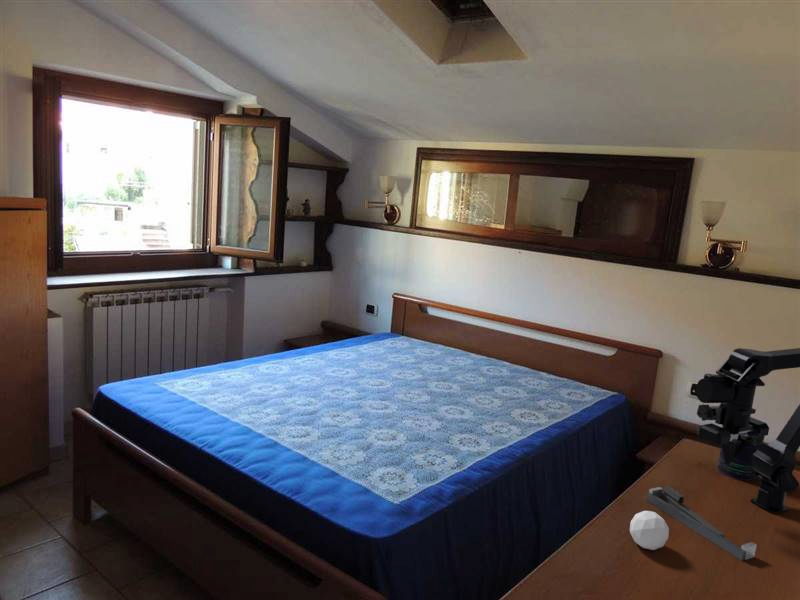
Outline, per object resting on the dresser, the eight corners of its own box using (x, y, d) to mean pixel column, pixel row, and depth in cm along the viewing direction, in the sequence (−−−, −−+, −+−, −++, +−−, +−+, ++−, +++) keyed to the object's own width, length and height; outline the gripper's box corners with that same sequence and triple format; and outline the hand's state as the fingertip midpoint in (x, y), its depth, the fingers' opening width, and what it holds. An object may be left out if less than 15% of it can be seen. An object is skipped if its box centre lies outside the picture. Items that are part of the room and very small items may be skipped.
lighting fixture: (725, 543, 140) (729, 525, 139) (715, 544, 139) (719, 526, 138) (668, 499, 158) (671, 484, 157) (659, 500, 157) (662, 484, 156)
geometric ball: (644, 562, 134) (637, 542, 129) (627, 530, 140) (620, 510, 136) (678, 549, 133) (672, 529, 129) (659, 518, 140) (653, 497, 135)
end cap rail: (657, 498, 157) (659, 486, 157) (754, 557, 134) (756, 544, 134) (646, 500, 155) (648, 489, 155) (741, 560, 133) (744, 547, 132)
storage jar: (710, 470, 176) (720, 420, 174) (724, 461, 183) (733, 413, 180) (748, 484, 169) (759, 432, 166) (761, 475, 176) (771, 425, 173)
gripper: (733, 387, 161) (722, 444, 164) (683, 394, 152) (673, 454, 155) (775, 402, 151) (763, 462, 154) (725, 411, 143) (713, 474, 146)
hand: (727, 463), depth 153 cm, fingers closed
